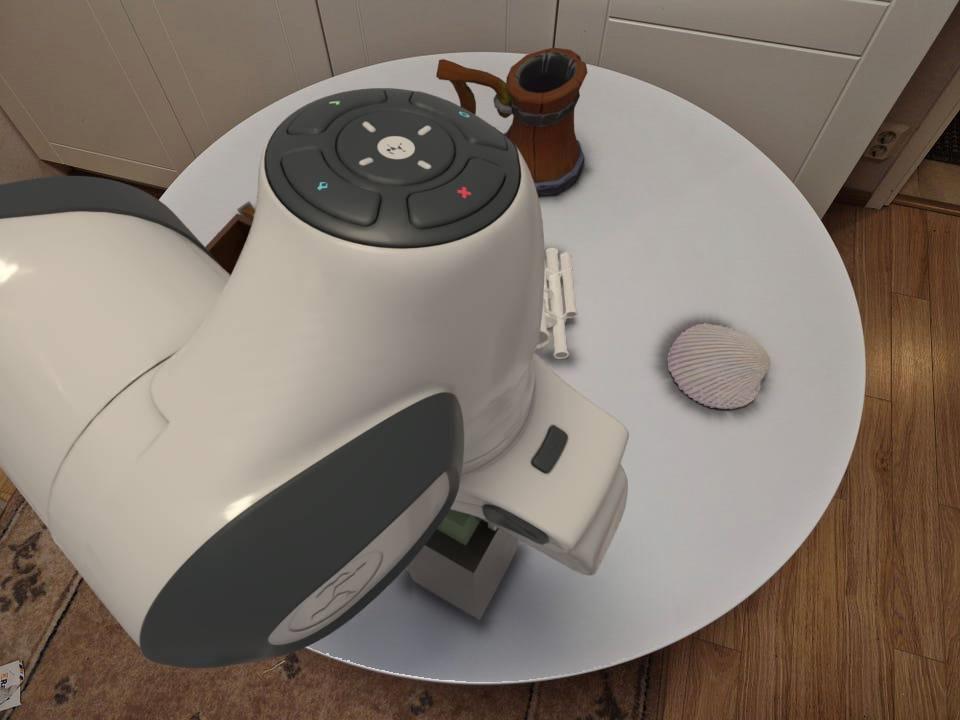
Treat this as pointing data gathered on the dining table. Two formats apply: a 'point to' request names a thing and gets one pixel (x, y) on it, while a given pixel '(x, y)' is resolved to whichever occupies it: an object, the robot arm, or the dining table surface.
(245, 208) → the wooden post with brackets
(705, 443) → the dining table surface
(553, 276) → the white tubular piece
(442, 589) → the stand
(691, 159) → the dining table surface
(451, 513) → the block
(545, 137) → the mug
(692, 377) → the seashell
